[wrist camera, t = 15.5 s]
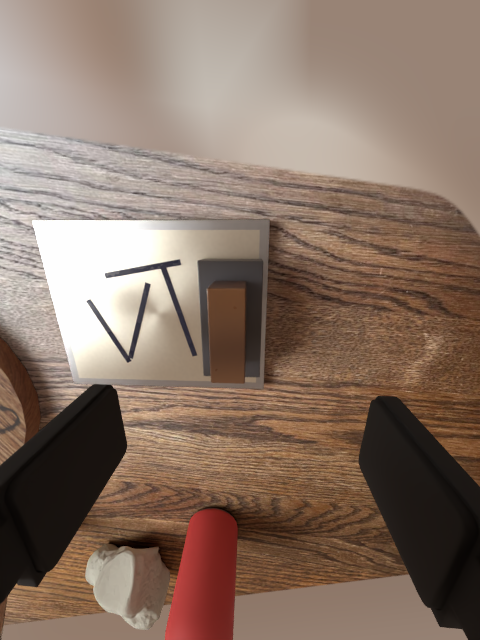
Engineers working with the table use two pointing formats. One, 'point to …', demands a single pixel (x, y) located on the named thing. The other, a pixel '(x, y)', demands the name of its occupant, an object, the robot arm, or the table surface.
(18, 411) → the trivet
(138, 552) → the decorative stone
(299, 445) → the table surface
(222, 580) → the beer can
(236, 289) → the eraser
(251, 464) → the table surface
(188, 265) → the whiteboard
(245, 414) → the table surface
